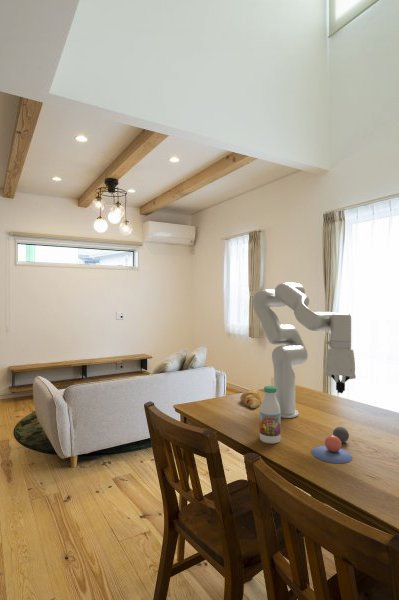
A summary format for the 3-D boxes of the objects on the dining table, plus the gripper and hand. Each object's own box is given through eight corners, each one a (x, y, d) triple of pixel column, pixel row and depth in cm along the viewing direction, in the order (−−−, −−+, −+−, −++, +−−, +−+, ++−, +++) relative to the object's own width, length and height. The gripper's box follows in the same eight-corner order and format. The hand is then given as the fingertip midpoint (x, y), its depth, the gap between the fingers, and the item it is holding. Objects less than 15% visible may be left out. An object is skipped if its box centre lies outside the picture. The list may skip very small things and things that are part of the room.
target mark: (307, 457, 116) (307, 456, 116) (316, 443, 127) (316, 443, 127) (349, 467, 110) (349, 466, 110) (354, 451, 121) (354, 451, 121)
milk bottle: (257, 436, 134) (257, 384, 134) (276, 435, 135) (277, 384, 135) (262, 444, 127) (262, 390, 126) (283, 443, 127) (283, 389, 127)
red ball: (328, 447, 125) (325, 455, 120) (324, 432, 125) (321, 440, 120) (344, 447, 122) (342, 455, 117) (340, 432, 122) (337, 439, 117)
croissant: (259, 417, 166) (267, 402, 166) (241, 407, 166) (249, 392, 166) (252, 402, 188) (259, 389, 187) (236, 394, 187) (243, 381, 187)
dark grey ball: (336, 424, 133) (333, 439, 132) (332, 424, 129) (329, 439, 128) (351, 429, 130) (348, 444, 129) (348, 429, 125) (345, 445, 125)
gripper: (318, 344, 135) (318, 391, 135) (360, 347, 127) (360, 397, 127) (322, 342, 141) (322, 387, 141) (362, 345, 133) (362, 392, 134)
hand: (340, 392), depth 134 cm, fingers closed
